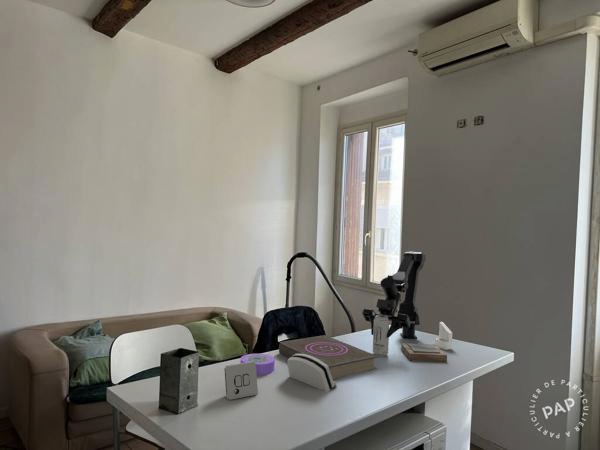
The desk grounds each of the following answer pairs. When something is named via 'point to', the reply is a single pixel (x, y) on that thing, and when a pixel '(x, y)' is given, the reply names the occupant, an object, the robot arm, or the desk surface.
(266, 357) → the masking tape
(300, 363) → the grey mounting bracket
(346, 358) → the book
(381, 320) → the energy drink can
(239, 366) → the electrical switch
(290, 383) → the desk surface
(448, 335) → the white angled block
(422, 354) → the brown square frame
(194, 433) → the desk surface
